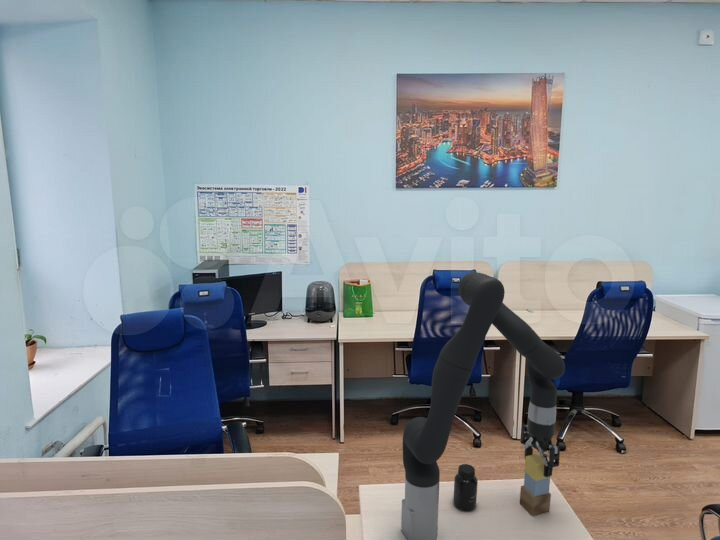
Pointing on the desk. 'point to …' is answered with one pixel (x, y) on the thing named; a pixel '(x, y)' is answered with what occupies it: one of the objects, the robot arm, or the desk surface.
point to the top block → (535, 467)
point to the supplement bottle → (465, 488)
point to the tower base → (534, 502)
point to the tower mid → (536, 485)
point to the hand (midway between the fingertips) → (537, 468)
